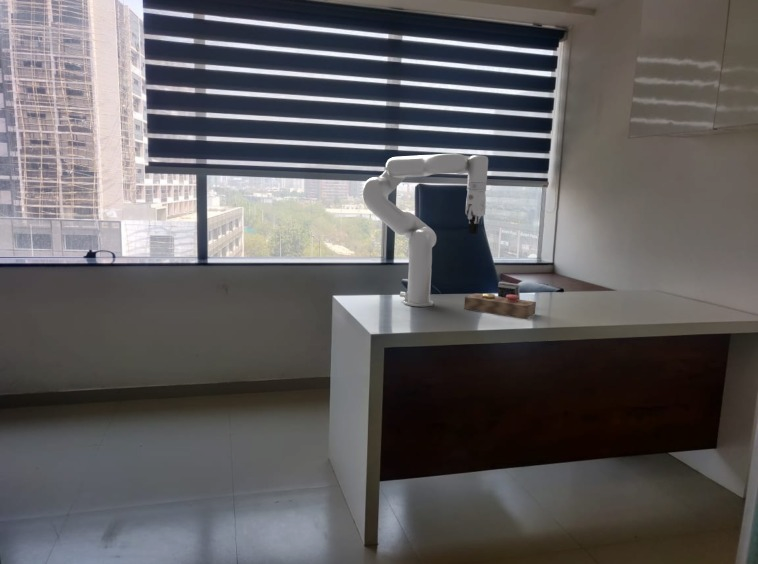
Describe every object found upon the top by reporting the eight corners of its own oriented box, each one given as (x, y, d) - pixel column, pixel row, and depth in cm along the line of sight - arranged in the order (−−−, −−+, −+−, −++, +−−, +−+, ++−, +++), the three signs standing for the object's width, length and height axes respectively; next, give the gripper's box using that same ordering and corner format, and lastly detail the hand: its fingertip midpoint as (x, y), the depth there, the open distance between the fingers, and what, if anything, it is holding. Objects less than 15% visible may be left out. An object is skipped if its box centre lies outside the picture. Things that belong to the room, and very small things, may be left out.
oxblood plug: (503, 310, 222) (504, 295, 221) (507, 308, 226) (508, 294, 225) (515, 312, 219) (516, 297, 218) (519, 310, 224) (520, 295, 223)
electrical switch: (519, 304, 243) (520, 283, 241) (515, 307, 239) (516, 286, 237) (499, 301, 248) (500, 280, 246) (495, 303, 244) (495, 283, 242)
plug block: (464, 308, 228) (464, 296, 227) (474, 304, 237) (475, 293, 236) (526, 318, 214) (527, 306, 213) (534, 314, 223) (536, 301, 223)
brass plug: (479, 309, 227) (480, 294, 226) (484, 307, 232) (485, 292, 231) (491, 311, 225) (492, 296, 224) (495, 309, 229) (496, 294, 228)
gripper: (478, 187, 212) (474, 235, 215) (492, 188, 225) (488, 233, 228) (460, 186, 216) (456, 233, 219) (475, 187, 229) (471, 232, 232)
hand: (473, 233), depth 223 cm, fingers closed
